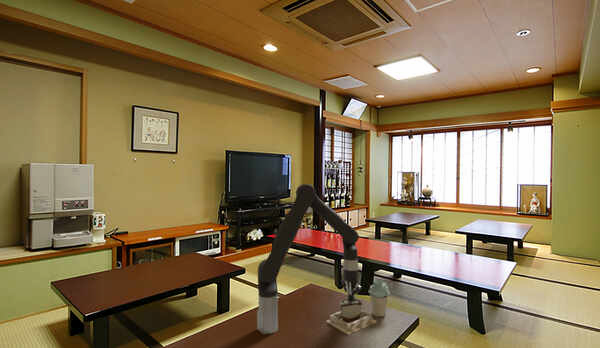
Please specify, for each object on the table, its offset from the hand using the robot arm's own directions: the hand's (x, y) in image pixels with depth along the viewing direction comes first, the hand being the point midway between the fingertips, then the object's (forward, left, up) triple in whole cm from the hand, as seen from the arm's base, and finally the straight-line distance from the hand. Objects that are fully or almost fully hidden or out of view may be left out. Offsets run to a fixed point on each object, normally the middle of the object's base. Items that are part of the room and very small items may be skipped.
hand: (351, 301), depth 159 cm
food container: (0, +2, -10) cm, 10 cm away
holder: (0, 0, -11) cm, 11 cm away
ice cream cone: (+18, -3, -11) cm, 21 cm away
